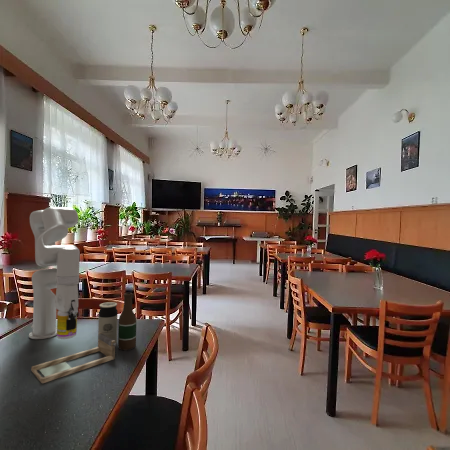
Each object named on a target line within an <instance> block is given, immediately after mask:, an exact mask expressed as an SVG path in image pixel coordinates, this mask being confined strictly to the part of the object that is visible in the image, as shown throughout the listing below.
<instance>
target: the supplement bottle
mask: <svg viewBox="0 0 450 450" xmlns="http://www.w3.org/2000/svg"><path fill="white" fill-rule="evenodd" d="M71 310H72V309H69V311H71ZM71 313H72V312H71ZM71 313H70V315H71ZM76 317H77V318H76V328H75V329H72V330H68V331H67V330H66V320H67V319H68V318H67V312H66V313H63V312H62V311H60V310H58V311H57V312H56V328H57V335H56V338H57V339H59V340H69V339H72V338H74V337H75V336H77V328H78V326H77V325H78V315H77V316H76Z"/></svg>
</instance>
